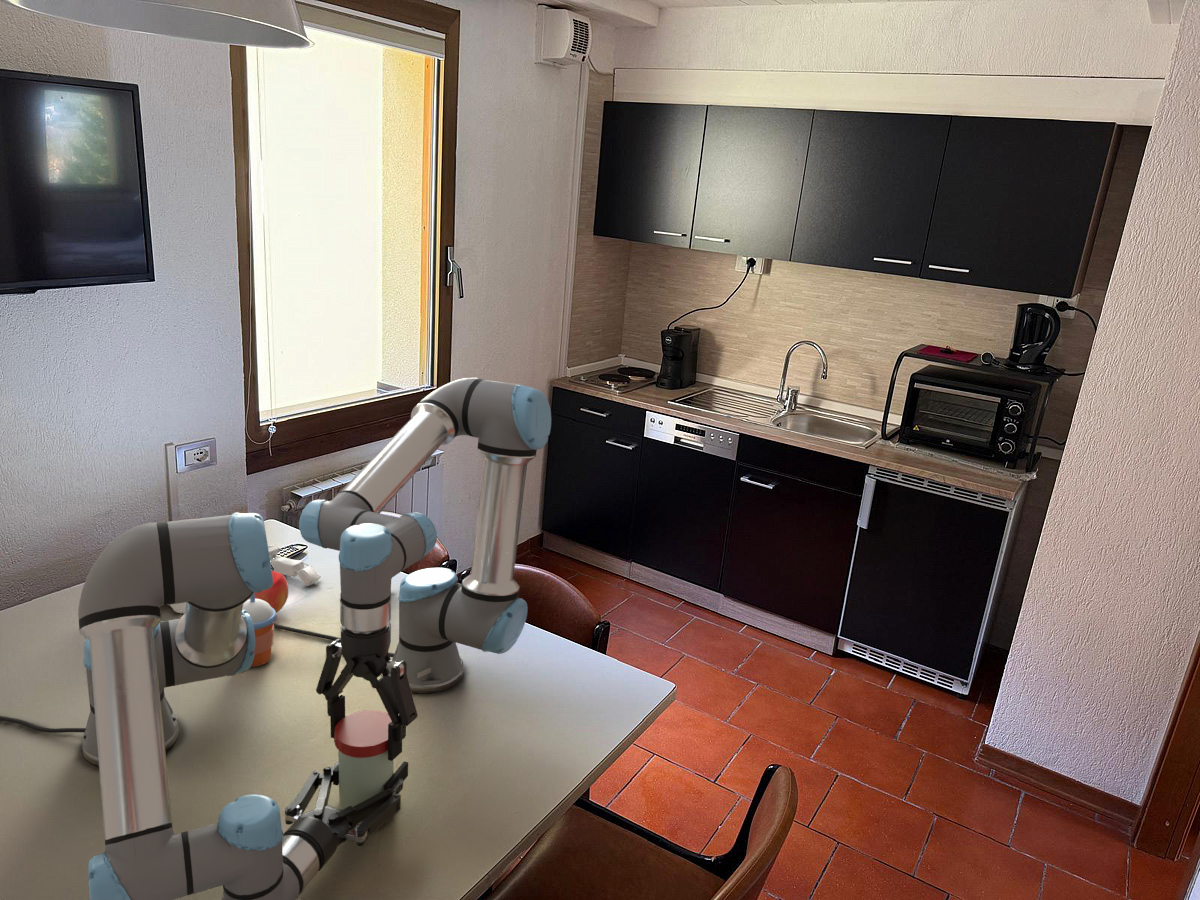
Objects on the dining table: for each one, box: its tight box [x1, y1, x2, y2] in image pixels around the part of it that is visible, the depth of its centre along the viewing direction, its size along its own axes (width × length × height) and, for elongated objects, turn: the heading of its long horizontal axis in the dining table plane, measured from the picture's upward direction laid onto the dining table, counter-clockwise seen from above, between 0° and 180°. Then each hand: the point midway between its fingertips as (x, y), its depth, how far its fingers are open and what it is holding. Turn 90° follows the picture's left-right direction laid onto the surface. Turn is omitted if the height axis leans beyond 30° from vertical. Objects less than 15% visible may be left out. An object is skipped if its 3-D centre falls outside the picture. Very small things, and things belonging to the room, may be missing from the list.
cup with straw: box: [243, 592, 278, 667], centre depth 180 cm, size 9×9×18 cm
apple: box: [248, 571, 289, 614], centre depth 199 cm, size 10×10×10 cm
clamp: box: [268, 544, 322, 587], centre depth 219 cm, size 20×4×7 cm, turn 62°
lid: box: [333, 709, 392, 758], centre depth 138 cm, size 10×10×2 cm
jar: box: [338, 750, 395, 824], centre depth 140 cm, size 9×9×16 cm
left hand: (381, 761), depth 145 cm, fingers closed on jar, 9 cm apart
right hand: (366, 744), depth 138 cm, fingers open, 11 cm apart
